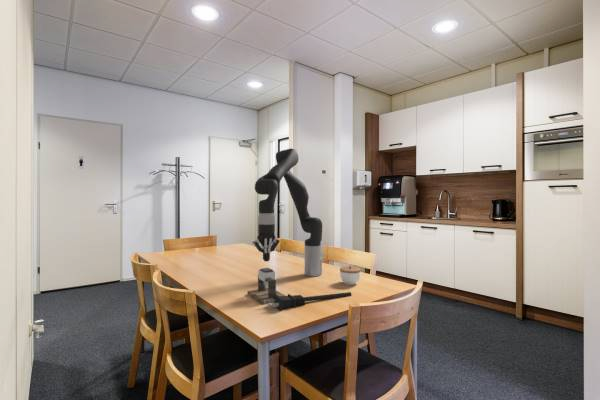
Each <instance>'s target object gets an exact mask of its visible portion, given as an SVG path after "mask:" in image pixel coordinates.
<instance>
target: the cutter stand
mask: <svg viewBox="0 0 600 400" xmlns="http://www.w3.org/2000/svg"><path fill="white" fill-rule="evenodd" d="M276 283H277V279H276V278H275V279H272V280H268V287H266V286H265V285H263V281H262V280H260V279H259V278H258V277H257V288H256V289H252V290H247V296H249V297H250V298H252V299H253V300H255V301H257V303H259V304H261V305H265V304H264V300H267V301H266V303H268V300H272V299H273V294H277V295H278V296H286V295H285V294H284V293H282V292H280V291H278V290H277V284H276ZM268 304H269V303H268Z"/></svg>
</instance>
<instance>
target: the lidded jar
mask: <svg viewBox="0 0 600 400" xmlns="http://www.w3.org/2000/svg"><path fill="white" fill-rule="evenodd" d="M361 271H362V270H361V268H360V267H358V266H352V265H348V266H342V267H340V268H339V275H340V278H341V279H340V280H341V281H342V282H343V283H344V284H345V285H347V286H353V285H356V284H357V283H358V282H359V281H360V277H361Z"/></svg>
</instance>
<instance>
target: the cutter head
mask: <svg viewBox="0 0 600 400" xmlns="http://www.w3.org/2000/svg"><path fill="white" fill-rule="evenodd" d="M258 278H259V279H260V280H262V281H263V285H265V287H266V288H268V280H272V279H275V280H276V271H275V270H273V268H272V269H271V268H269V267H263V268H262V267H261V268H259V269H258V271H257V279H258Z"/></svg>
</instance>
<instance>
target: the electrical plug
mask: <svg viewBox="0 0 600 400" xmlns="http://www.w3.org/2000/svg"><path fill="white" fill-rule="evenodd" d="M351 296H352V292H349V291H348V292H339V293H330V294H322V295H320V294H319V295H312V296H303V295H301V294H295V295H291V294H290V293H289V294H287V295H285V296H278V295H277V294H273V299H272V300H268V303H266V301H267V300H264V304H263V305H266V304H267V308H268V309H269V308H276V309H277V310H278V311H281V312H282V311H283V310H284V309H288V308H296V307H298V306H305V305H306V302H313V301H320V300H330V299H331V300H332V299H338V298H339V299H340V298H345V297H351ZM271 305H272V306H271Z"/></svg>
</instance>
